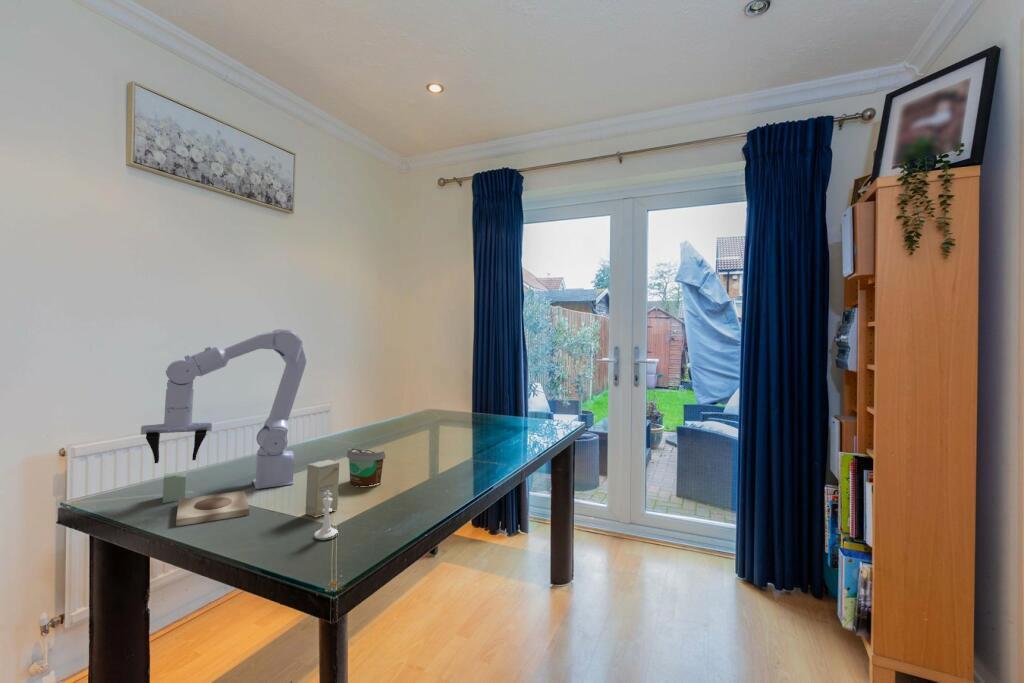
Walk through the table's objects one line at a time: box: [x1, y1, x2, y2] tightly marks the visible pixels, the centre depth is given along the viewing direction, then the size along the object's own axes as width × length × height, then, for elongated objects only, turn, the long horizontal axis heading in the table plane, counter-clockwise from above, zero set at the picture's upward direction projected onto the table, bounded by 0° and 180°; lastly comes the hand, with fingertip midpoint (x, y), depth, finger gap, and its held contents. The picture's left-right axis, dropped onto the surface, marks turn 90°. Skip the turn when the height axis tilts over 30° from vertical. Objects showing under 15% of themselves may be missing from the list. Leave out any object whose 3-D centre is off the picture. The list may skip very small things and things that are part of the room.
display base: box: [175, 490, 250, 527], centre depth 111 cm, size 14×14×2 cm
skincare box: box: [305, 459, 340, 517], centre depth 112 cm, size 6×4×12 cm
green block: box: [162, 471, 187, 504], centre depth 117 cm, size 4×4×6 cm
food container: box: [346, 445, 386, 488], centre depth 134 cm, size 12×6×10 cm, turn 68°
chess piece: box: [313, 490, 339, 538], centre depth 100 cm, size 5×5×10 cm
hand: (175, 460), depth 117 cm, fingers open, 7 cm apart
